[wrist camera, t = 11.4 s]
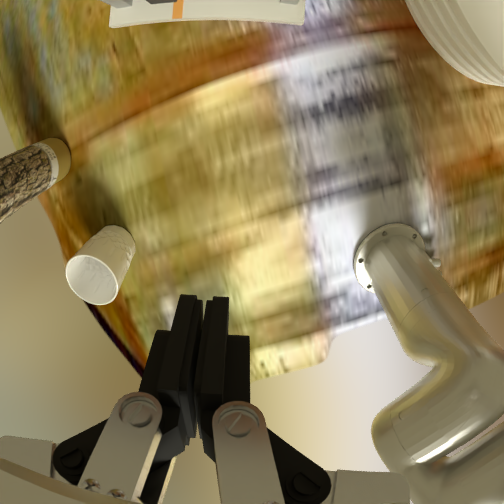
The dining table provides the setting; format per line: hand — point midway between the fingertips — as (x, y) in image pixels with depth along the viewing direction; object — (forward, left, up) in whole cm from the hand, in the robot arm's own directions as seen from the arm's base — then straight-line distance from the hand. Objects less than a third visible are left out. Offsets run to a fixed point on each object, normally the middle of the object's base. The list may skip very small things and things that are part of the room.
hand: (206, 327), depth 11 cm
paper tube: (+27, +1, -32) cm, 42 cm away
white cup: (+18, +15, -32) cm, 40 cm away
